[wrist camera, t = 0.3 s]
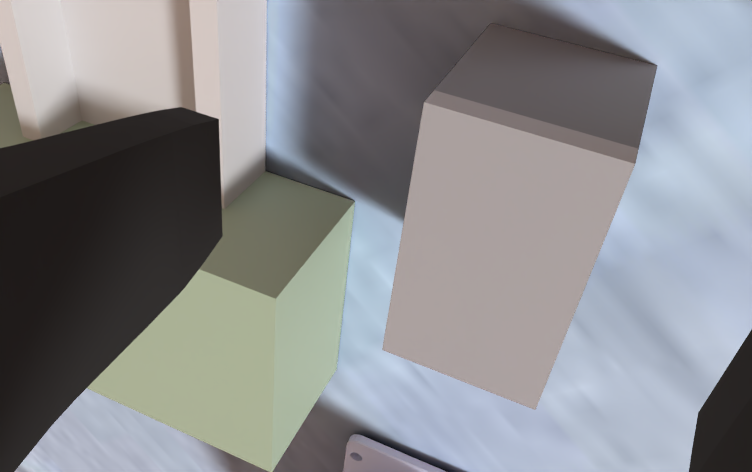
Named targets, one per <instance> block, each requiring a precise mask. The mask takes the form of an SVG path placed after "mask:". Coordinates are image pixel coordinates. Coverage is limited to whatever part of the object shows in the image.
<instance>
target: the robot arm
mask: <svg viewBox="0 0 752 472" xmlns="http://www.w3.org/2000/svg"><path fill="white" fill-rule="evenodd" d="M222 236H223V232H222V202H221V171H220V141H219V119H217V118H214V117H211V116H208V115H205V114H201V113H198V112H195V111H192V110H189V109H186V108H183V107H178V108H171V109H164V110H158V111H153V112H148V113H144V114H139V115H135V116H130V117H126V118H122V119H118V120H113V121H109V122H105V123H101V124H97V125H93V126H89V127H85V128H81V129H77V130H73V131H69V132H65V133H61V134H57V135H53V136H49V137H45V138H41V139H37V140H33V141H29V142H25V143H21V144H17V145H12V146H8V147H3V148H0V472H14V471H15V470H16V469H17V468H18V466H19V465H20V464H21V463H22V461H23V460H24V459H25V458H26V456H27V455H28V454H29V453H30V451H31V450H32V449H33V448H34V446H35V445H36V444H37V443H38V442H39V440H40V439H41V438H42V437H43V435H44V434H45V433H46V432H47V430H48V429H49V428H50V427H51V426H52V424H53V423H54V422H55V421H56V420H57V419H58V418H59V417H60V416H61V415H62V413H63V412H64V411H65V410H66V409H67V408H68V407H69V406H70V405H71V404H72V402H73V401H74V400H75V399H76V398H77V397H78V396H79V395H80V394H81V393H82V392H83V391H84V390H85V389H86V388H87V387H88V386H89V385H90V384H91V383H92V382H93V381H94V380H95V379H96V378H97V377H98V376H99V375H100V374H101V373H102V372H103V371H104V370H105V369H106V368H107V367H108V366H109V365H110V364H111V363H112V362H113V361H114V360H115V359H116V358H117V357H118V356H119V355H120V354H121V353H122V352H123V351H124V350H125V349H126V348H127V347H128V346H129V345H130V344H131V343H132V342H133V341H134V340H135V339H136V338H137V337H138V336H139V335H140V334H141V333H142V332H143V331H144V330H145V329H146V328H147V327H148V326H149V325H150V324H151V323H152V322H153V321H154V320H155V318H156V317H157V316H158V315H159V314H160V313H161V312H162V311H163V310H164V309H165V308H166V307H167V306H168V305H169V304H170V303H171V302H172V301H173V300H174V299H175V298H176V297H177V296H178V295H179V294H180V293H181V291H182V290H183V289H184V288H185V287H186V286H187V284H188V283H189V282H190V280H191V279H192V278H193V276H194V275H195V274H196V273H197V271H198V270H199V269H200V267H201V266H202V265H203V263H204V262H205V260H206V259H207V258H208V256H209V255H210V253H211V252H212V251H213V249H214V248H215V246H216V245H217V243H218V242H219V241H220V239H221V238H222ZM343 472H446V471H444V470H441V469H439V468H437V467H434V466H432V465H430V464H427V463H425V462H423V461H420V460H418V459H416V458H413V457H411V456H409V455H406V454H404V453H402V452H399V451H397V450H395V449H392V448H390V447H388V446H385V445H383V444H381V443H378V442H376V441H374V440H371V439H369V438H367V437H364V436H362V435H352V436H351V437H350V439H349V441H348V442H347V445H346V453H345V460H344V467H343ZM689 472H752V330H751V332H750V333H749V335H748V336H747V338H746V339H745V341H744V342H743V344H742V346H741V347H740V349H739V350H738V352H737V353H736V355H735V357H734V358H733V360H732V361H731V363H730V364H729V366H728V367H727V369H726V371H725V372H724V374H723V375H722V377H721V378H720V380H719V382H718V383H717V385H716V386H715V388H714V389H713V391H712V392H711V394H710V396H709V397H708V399H707V400H706V402H705V403H704V405H703V407H702V408H701V410H700V411H699V413H698V418H697V424H696V430H695V436H694V442H693V448H692V454H691V462H690V469H689Z"/></svg>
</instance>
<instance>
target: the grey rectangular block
mask: <svg viewBox="0 0 752 472" xmlns="http://www.w3.org/2000/svg"><path fill="white" fill-rule="evenodd" d="M656 69H657V65H653V64H649V63H645V62H642V61H638V60H634V59H630V58H626V57H622V56H618V55H614V54H610V53H606V52H602V51H599V50H595V49H591V48H587V47H583V46H579V45H575V44H571V43H567V42H563V41H559V40H556V39H552V38H548V37H544V36H540V35H536V34H532V33H528V32H524V31H520V30H516V29H512V28H509V27H505V26H501V25H497V24H493V23H491V24H490V25H489V26H488V27H487V28H486V29H485V31H484V32H483V33H482V34H481V35H480V37H479V38H478V39H477V40H476V41H475V42H474V44H473V45H472V46H471V47H470V48H469V50H468V51H467V52H466V53H465V54H464V55H463V57H462V58H461V59H460V60H459V61H458V63H457V64H456V65H455V66H454V67H453V68H452V70H451V71H450V72H449V73H448V74H447V76H446V77H445V78H444V79H443V80H442V81H441V83H440V84H439V85H438V86H437V87H436V88H435V90H434V91H433V92H432V93H431V94H430V96H429V97H428V98H427V99H426V100H425V101H424V105H423V111H422V117H421V122H420V128H419V134H418V140H417V146H416V152H415V158H414V164H413V170H412V176H411V182H410V188H409V194H408V200H407V206H406V212H405V217H404V223H403V229H402V235H401V241H400V247H399V253H398V259H397V265H396V271H395V277H394V283H393V289H392V295H391V301H390V307H389V313H388V318H387V324H386V330H385V336H384V342H383V348H382V350H384V351H387V352H389V353H392V354H394V355H397V356H399V357H402V358H404V359H407V360H410V361H412V362H415V363H417V364H420V365H422V366H425V367H427V368H430V369H432V370H435V371H438V372H440V373H443V374H445V375H448V376H450V377H453V378H455V379H458V380H461V381H463V382H466V383H468V384H471V385H473V386H476V387H478V388H481V389H483V390H486V391H489V392H491V393H494V394H496V395H499V396H501V397H504V398H506V399H509V400H511V401H514V402H517V403H519V404H522V405H524V406H527V407H529V408H532V409H534V410H535V409H536V407H537V404H538V402H539V399H540V397H541V395H542V392H543V390H544V387H545V385H546V382H547V380H548V377H549V375H550V372H551V370H552V367H553V365H554V363H555V360H556V358H557V355H558V353H559V350H560V348H561V345H562V343H563V340H564V338H565V335H566V333H567V331H568V328H569V326H570V323H571V321H572V318H573V316H574V313H575V311H576V308H577V306H578V303H579V301H580V299H581V296H582V294H583V291H584V289H585V286H586V284H587V281H588V279H589V276H590V274H591V271H592V269H593V267H594V264H595V262H596V259H597V257H598V254H599V252H600V249H601V247H602V244H603V242H604V239H605V237H606V235H607V232H608V230H609V227H610V225H611V222H612V220H613V217H614V215H615V212H616V210H617V207H618V205H619V203H620V200H621V198H622V195H623V193H624V190H625V188H626V185H627V183H628V180H629V178H630V175H631V173H632V171H633V168H634V166H635V163H636V158H637V154H638V149H639V145H640V140H641V136H642V131H643V127H644V123H645V118H646V114H647V109H648V105H649V100H650V96H651V91H652V87H653V82H654V78H655V74H656Z"/></svg>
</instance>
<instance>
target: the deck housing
mask: <svg viewBox="0 0 752 472" xmlns="http://www.w3.org/2000/svg"><path fill="white" fill-rule="evenodd" d="M266 41H267V0H0V45H1V49H2V53H3V57H4V61H5V65H6V69H7V73H8V77H9V81H10V85H9V84H6V83H3V84H1V85H0V148H3V147H8V146H12V145H17V144H21V143H25V142H29V141H33V140H37V139H41V138H45V137H49V136H53V135H57V134H61V133H65V132H69V131H73V130H77V129H81V128H85V127H89V126H93V125H97V124H101V123H105V122H109V121H113V120H118V119H122V118H126V117H130V116H135V115H139V114H144V113H148V112H153V111H158V110H164V109H171V108H178V107H183V108H186V109H189V110H192V111H195V112H198V113H201V114H205V115H208V116H211V117H214V118H217V119H219V141H220V171H221V202H222V232H223V236H222V238H221V239H220V241H219V242H218V243H217V245H216V246H215V248H214V249H213V251H212V252H211V253H210V255H209V256H208V258H207V259H206V260H205V262H204V263H203V265H202V266H201V267H200V269H199V270H198V271H197V273H196V274H195V275H194V276H193V278H192V279H191V280H190V282H189V283H188V284H187V286H186V287H185V288H184V289H183V290H182V291H181V293H180V294H179V295H178V296H177V297H176V298H175V299H174V300H173V301H172V302H171V303H170V304H169V305H168V306H167V307H166V308H165V309H164V310H163V311H162V312H161V313H160V314H159V315H158V316H157V317H156V318H155V320H154V321H153V322H152V323H151V324H150V325H149V326H148V327H147V328H146V329H145V330H144V331H143V332H142V333H141V334H140V335H139V336H138V337H137V338H136V339H135V340H134V341H133V342H132V343H131V344H130V345H129V346H128V347H127V348H126V349H125V350H124V351H123V352H122V353H121V354H120V355H119V356H118V357H117V358H116V359H115V360H114V361H113V362H112V363H111V364H110V365H109V366H108V367H107V368H106V369H105V370H104V371H103V372H102V373H101V374H100V375H99V376H98V377H97V378H96V379H95V380H94V381H93V382H92V383H91V384H90V385H89V386H88V387H87V388H88V389H90V390H92V391H94V392H96V393H98V394H101V395H103V396H105V397H107V398H109V399H112V400H114V401H116V402H118V403H120V404H122V405H125V406H127V407H129V408H131V409H133V410H135V411H138V412H140V413H142V414H144V415H146V416H149V417H151V418H153V419H155V420H157V421H159V422H162V423H164V424H166V425H168V426H170V427H172V428H175V429H177V430H179V431H181V432H183V433H186V434H188V435H190V436H192V437H194V438H196V439H199V440H201V441H203V442H205V443H207V444H209V445H212V446H214V447H216V448H218V449H220V450H223V451H225V452H227V453H229V454H231V455H233V456H236V457H238V458H240V459H242V460H244V461H246V462H249V463H251V464H253V465H255V466H257V467H260V468H262V469H264V470H266V471H268V472H273V470H274V469H275V467H276V465H277V464H278V462H279V461H280V459H281V457H282V456H283V454H284V453H285V451H286V449H287V448H288V446H289V445H290V443H291V441H292V440H293V438H294V437H295V435H296V433H297V432H298V430H299V429H300V427H301V425H302V424H303V422H304V421H305V419H306V417H307V416H308V414H309V413H310V411H311V409H312V408H313V406H314V405H315V403H316V401H317V400H318V398H319V397H320V395H321V393H322V392H323V390H324V389H325V387H326V385H327V384H328V382H329V381H330V379H331V377H332V376H333V374H334V373H335V371H336V369H337V361H338V352H339V342H340V333H341V324H342V315H343V306H344V297H345V288H346V279H347V269H348V260H349V251H350V242H351V233H352V224H353V215H354V205H355V201H352V200H349V199H346V198H343V197H340V196H337V195H334V194H331V193H328V192H325V191H322V190H319V189H317V188H314V187H311V186H308V185H305V184H302V183H299V182H296V181H293V180H290V179H287V178H284V177H281V176H278V175H275V174H272V173H269V172H266V171H265V153H266Z"/></svg>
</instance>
